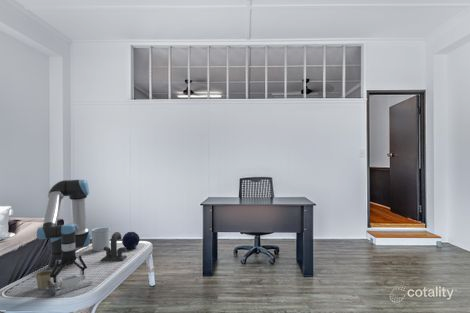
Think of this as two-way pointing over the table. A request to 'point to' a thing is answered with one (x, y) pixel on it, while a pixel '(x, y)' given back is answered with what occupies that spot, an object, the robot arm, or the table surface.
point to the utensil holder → (100, 238)
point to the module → (69, 281)
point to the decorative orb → (130, 240)
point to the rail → (53, 291)
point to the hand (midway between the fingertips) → (69, 284)
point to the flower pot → (43, 279)
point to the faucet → (114, 250)
